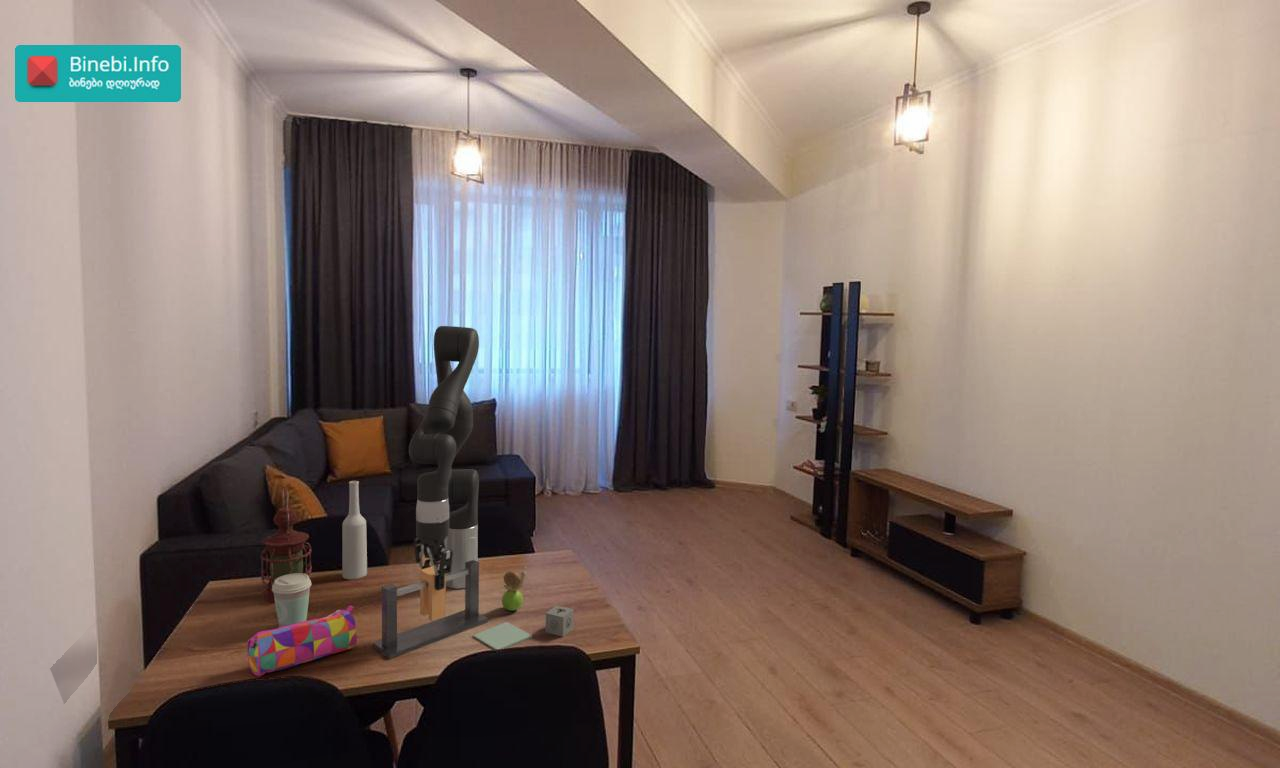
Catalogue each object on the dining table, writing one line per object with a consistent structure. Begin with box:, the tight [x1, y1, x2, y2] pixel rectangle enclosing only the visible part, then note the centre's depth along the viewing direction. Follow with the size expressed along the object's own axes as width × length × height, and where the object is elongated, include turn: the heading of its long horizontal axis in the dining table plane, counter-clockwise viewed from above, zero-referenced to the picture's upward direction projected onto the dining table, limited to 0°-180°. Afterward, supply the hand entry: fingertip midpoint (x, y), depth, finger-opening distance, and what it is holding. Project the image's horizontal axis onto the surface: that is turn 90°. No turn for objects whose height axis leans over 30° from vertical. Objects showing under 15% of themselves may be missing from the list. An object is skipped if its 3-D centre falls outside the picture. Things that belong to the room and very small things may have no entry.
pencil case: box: [246, 605, 358, 678], centre depth 145 cm, size 22×9×9 cm, turn 137°
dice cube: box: [545, 605, 575, 638], centre depth 163 cm, size 5×5×5 cm
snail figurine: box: [501, 566, 527, 612], centre depth 173 cm, size 5×6×12 cm
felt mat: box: [472, 621, 533, 651], centre depth 159 cm, size 10×10×1 cm
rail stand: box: [372, 560, 489, 660], centre depth 158 cm, size 8×26×15 cm, turn 138°
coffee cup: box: [272, 573, 312, 628], centre depth 160 cm, size 8×8×12 cm
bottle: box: [341, 480, 368, 580], centre depth 192 cm, size 7×7×28 cm
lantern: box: [259, 484, 313, 603], centre depth 177 cm, size 12×12×30 cm
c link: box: [419, 565, 447, 622], centre depth 158 cm, size 5×4×11 cm, turn 48°
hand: (432, 585), depth 158 cm, fingers closed on c link, 5 cm apart
